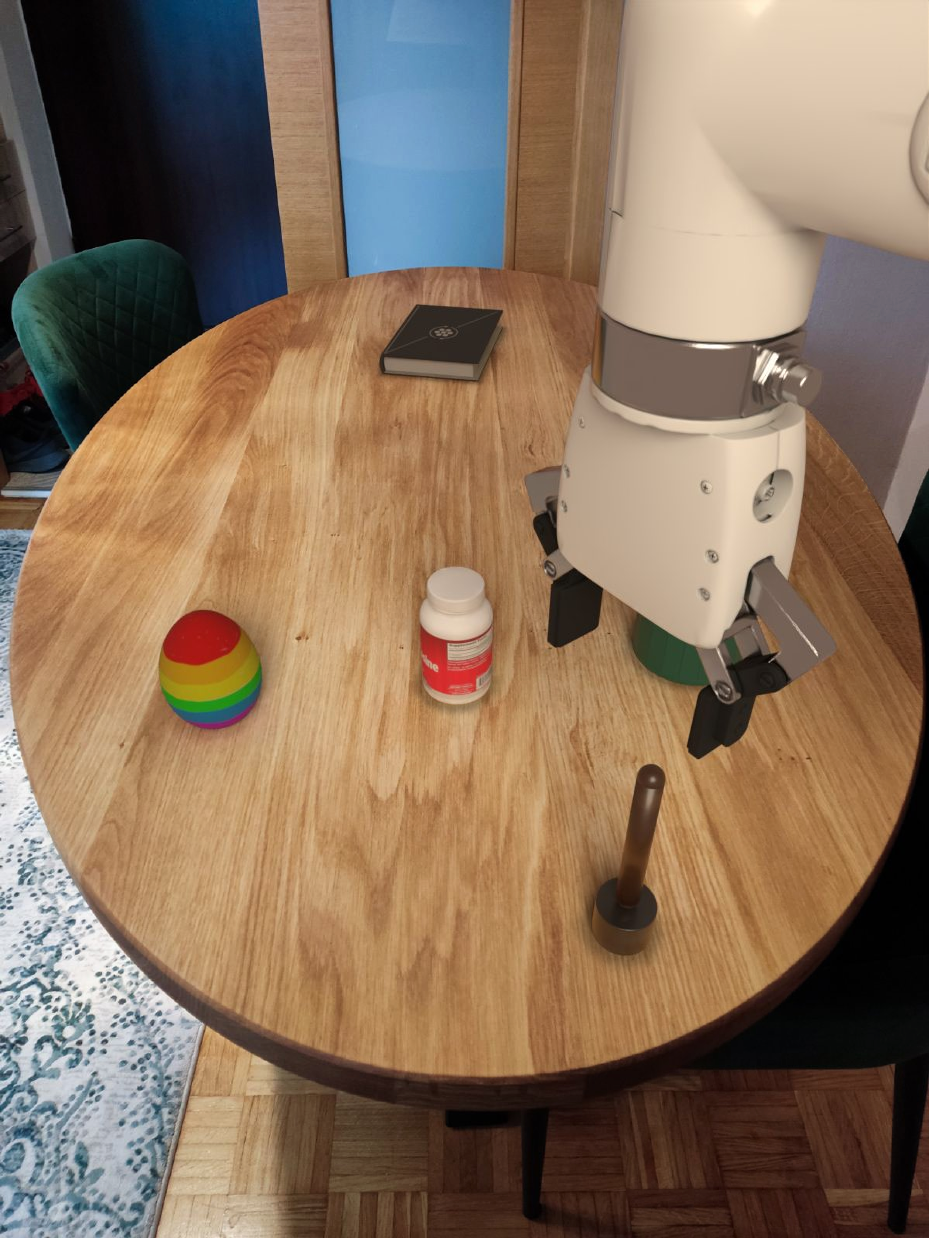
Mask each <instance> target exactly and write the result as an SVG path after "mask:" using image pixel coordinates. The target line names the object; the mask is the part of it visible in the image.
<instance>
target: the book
mask: <svg viewBox="0 0 929 1238" xmlns="http://www.w3.org/2000/svg"><path fill="white" fill-rule="evenodd" d="M503 313H504V310H503V309H494V308H493V309H492V308H480V307H466V306H465V307H462V306H448V305H434V304H422V303H421V304H420V303H417V304H415V305H414V306H413V308H412V310H411V311H410V312H409V314H408V315H407V317H406V318H405V319H404V321H403V322H402V323H401V325H400V326H399V328H398V329H397V331H396V332H395V334H394V335H393V336H392V338H391V339H390V341H389V342H388V343H387V344H386V346H385V348H384V349H383V351H381V353H380V356H379V361H378V365H379V369H380V372H381V375H390V376H393V375H394V376H404V377H413V378H414V377H416V378H429V379H439V380H440V379H441V380H450V381H451V380H452V381H464V382H465V381H466V382H476V383H477V382H479V380H480V379H481V376H482V374H483V372H484V370H485V368H486V365H487V363H488V361H489V359H490V356H491V354H492V352H493V350H494V347H495V346H496V344H497V341H498V339H499V337H500V335H501V333H502V330H503V326H501V325H498V324H499V322H500V320H501V317H502V316H503Z"/></svg>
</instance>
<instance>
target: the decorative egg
mask: <svg viewBox="0 0 929 1238" xmlns="http://www.w3.org/2000/svg"><path fill="white" fill-rule="evenodd" d="M262 669H263V668H262V663H261V659H260V655H259V653H258V650H257V648H256V646H255V644H254V642H253V640H252V639H251V637H250V636H249V634H248V633H247V632H246V631H245V629H244V628H243V627H242V626H241V625H239V624H238V623H237V622H236V621H235V620H234V619H233V618H230V617H229V616H227V615H225V614H223V613H221V612H219V611H216V610H212V609H196V610H193V611H190V612H188V613H186V614H184V615H182V616H181V617H180V618H178V619H177V620H176V621H175V622H174V624H172V625H171V627H170V629H169V630H168V632H167V634H166V636H165V637H164V640H163V642H162V644H161V648H160V652H159V657H158V679H159V684H160V688H161V692H162V694H163V696H164V698H165V701H166V702H167V704H168V706H169V707H170V708H171V710H172V711H173V712H174V713H175V714H176V715H177V716H178V717H179V718H180V719H182V720H183V721H184V722H186V723H187V724H190V725H192V726H194V727H196V728H200V729H204V730H220V729H224V728H228V727H230V726H233V725H236V724H237V723H239V722H240V721H242V720H243V719H244V718H245V717H247V715H248V714H249V713H250V712H251V711H252V710H253V707H255V705H256V703H257V701H258V699H259V695H260V693H261V689H262V683H263V670H262Z"/></svg>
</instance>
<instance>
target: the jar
mask: <svg viewBox="0 0 929 1238" xmlns="http://www.w3.org/2000/svg"><path fill="white" fill-rule="evenodd" d="M756 617H757V618H758V615H756ZM724 642H725V645H726V647H727V650H728V652H729V655H730V657H731V660H732V662H733V665H734V664H735V663H737V662H738V661H740V660H743V659H742V657H741V654H740V652H739V649H738V647H737V644H736V642H735V639H734V637H733V636H732V637H731V638H729V639H727V640H725V641H724ZM632 649H633V651H634V654H635V656H636V657H637V659H638V661H639V662H640V663H641V664H642V665H643V666H644V667H645V668H646V669H647V670H649V671H650V672H652V673H653V674H654V675H657V676H658V677H660V678H662V679H665V680H667V681H670V682H673V683H677V684H681V685H686V686H698V687H701V686H704V687H705V686H707V685H709V684H710V682H709V679H708V677H707V674H706V672H705V669H704V667H703V664H702V662H701V659H700V657H699V654H698V652H697V649H696V647H695V646H693V645H690V644H688V643H686V642H684V641H682V640H680V639H678V638H677V637H675V636H673V635H672V634H670V633H668V632H667V631H665V630H664V629H662V628H661V627H659V626H658V625H656V624H655V623H653V622H652V621H650V620H649V619H647V618H646V617H644V616H643V615H641V614H640V613H638V612H637V611H636V616H635V622H634V629H633V636H632Z"/></svg>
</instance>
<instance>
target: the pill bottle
mask: <svg viewBox="0 0 929 1238" xmlns="http://www.w3.org/2000/svg"><path fill="white" fill-rule="evenodd" d="M485 585H486V584H485V580H484V578H483V576H482V575H481V574H480V573H478V572H477V571H475V570H473V569H472V568H469V567H465V566H447V567H443V568H440V569H438V570H436V571H434V572H433V573H432V574H431V575H430V576H429V577H428V579H427V583H426V597H425V599H424V600H423V601H422V603H421V606H420V607H419V614H418V615H419V616H418V619H419V643H420V644H419V645H420V663H421V666H420V667H421V680H422V685H423V688H424V690H425V691H426V692H427V694H428V695H429V696H430V697H431V698H433V699H435V701H438V702H439V703H440V702H441V703H443V704H448V705H465V704H470V703H472V702H475V701H477V700H479V699H481V698H482V697H483V696H484V695H485V694H486V693H487V692H488V690H489V689H490V687H491V684H492V677H493V631H494V630H493V628H494V612H493V607H492V604H491V603H490V601H489V600H488V598H487V597H486V590H485V589H486V588H485Z"/></svg>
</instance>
